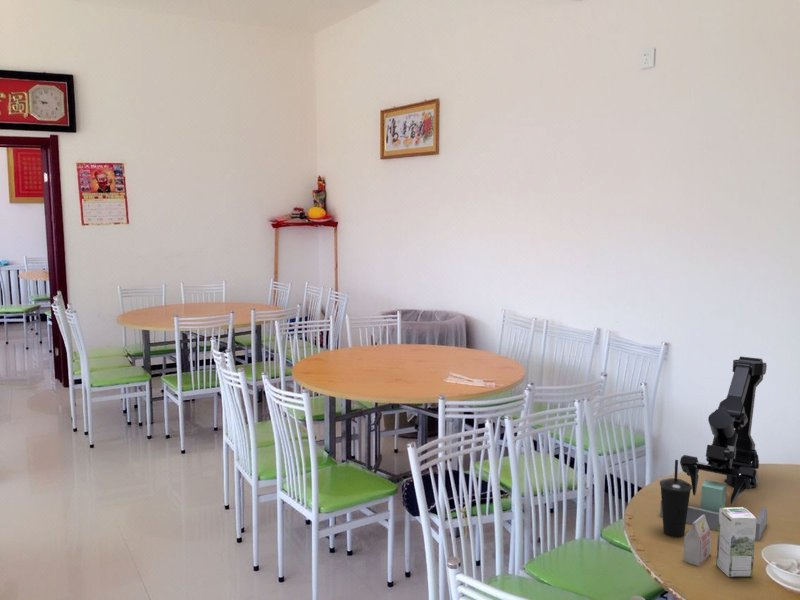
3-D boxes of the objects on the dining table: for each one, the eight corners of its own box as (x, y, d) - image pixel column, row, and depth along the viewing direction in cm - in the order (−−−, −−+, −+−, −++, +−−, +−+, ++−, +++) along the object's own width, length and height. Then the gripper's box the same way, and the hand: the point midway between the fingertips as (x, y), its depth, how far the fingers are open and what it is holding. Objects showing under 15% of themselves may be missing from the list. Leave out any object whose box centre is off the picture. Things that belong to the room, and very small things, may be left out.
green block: (704, 515, 183) (706, 479, 182) (724, 519, 180) (726, 483, 179) (700, 521, 179) (701, 485, 178) (720, 526, 176) (722, 489, 175)
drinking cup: (651, 531, 175) (653, 457, 173) (673, 526, 178) (676, 453, 176) (673, 544, 168) (676, 467, 166) (696, 538, 171) (699, 462, 169)
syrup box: (739, 564, 158) (742, 505, 156) (753, 578, 152) (756, 516, 151) (715, 565, 158) (718, 506, 156) (728, 578, 152) (731, 517, 150)
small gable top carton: (683, 561, 160) (685, 520, 159) (694, 551, 165) (696, 512, 164) (699, 566, 158) (701, 525, 156) (710, 556, 162) (711, 516, 161)
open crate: (671, 504, 192) (672, 487, 191) (766, 526, 178) (767, 508, 177) (660, 518, 183) (660, 501, 182) (758, 543, 168) (759, 524, 168)
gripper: (683, 426, 186) (670, 477, 179) (758, 439, 175) (748, 493, 167) (689, 446, 193) (677, 495, 186) (762, 459, 182) (752, 512, 175)
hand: (712, 498), depth 178 cm, fingers open, 9 cm apart
